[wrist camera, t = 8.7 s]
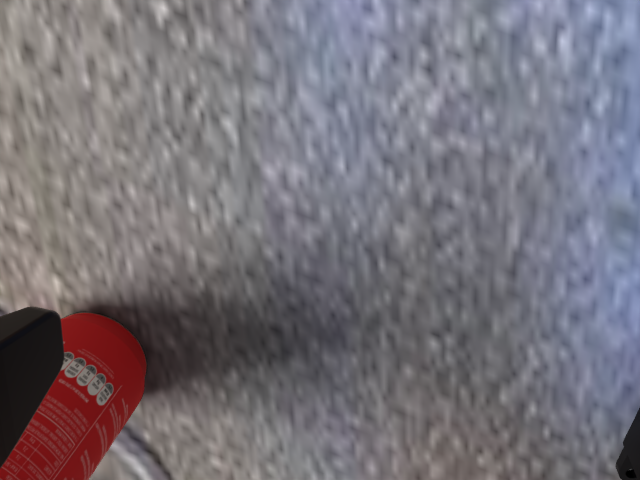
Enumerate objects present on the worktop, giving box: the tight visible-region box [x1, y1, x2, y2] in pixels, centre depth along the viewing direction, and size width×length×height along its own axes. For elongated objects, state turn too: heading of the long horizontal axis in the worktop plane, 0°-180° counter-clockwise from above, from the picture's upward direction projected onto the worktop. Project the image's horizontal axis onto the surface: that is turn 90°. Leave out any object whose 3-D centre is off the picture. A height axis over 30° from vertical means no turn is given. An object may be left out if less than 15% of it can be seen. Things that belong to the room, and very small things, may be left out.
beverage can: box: [0, 312, 147, 480], centre depth 20 cm, size 5×5×12 cm
